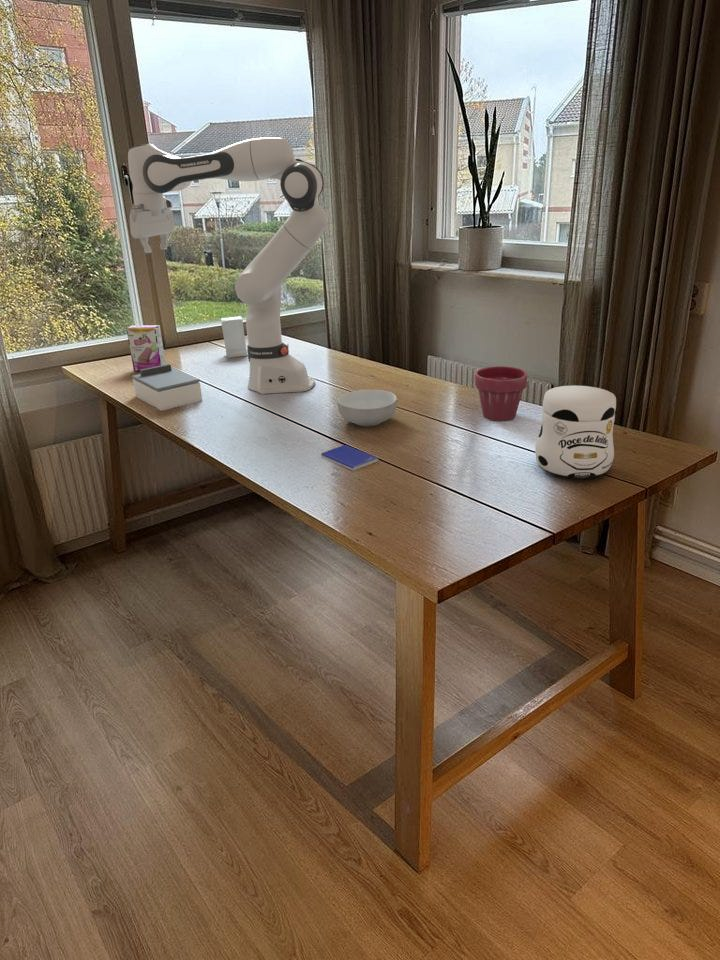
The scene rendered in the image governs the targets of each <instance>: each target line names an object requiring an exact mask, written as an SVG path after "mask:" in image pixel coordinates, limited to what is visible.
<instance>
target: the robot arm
mask: <svg viewBox="0 0 720 960" xmlns="http://www.w3.org/2000/svg"><path fill="white" fill-rule="evenodd" d="M127 153H128V154H127V160H128V161H127V164H128V171H129V178H130V182H131V184H132V198H133V205H132V208H131V210H130V213H129V226H130V235H131V236H132V238H133V239H139V241H140V243H141V245H142V247H143V250H144V254H150V253H152V252H153V250H152V246H150V244H149V240H150V239H149V238H151V237H156V236H159V237H160V243H159V248H160V250H167V249H168V240H169V234H173V233H174V231H175V220H174V213H173V210H172V209H173V202H172V201H171V200H170V199H168V198H167V197H165V196H164V194H166V193H169V192H178V191H182V190H185V189H187V187H189V185H190V184H191V182H195V181H200V180H201V181H202V180H208V179H210V180H211V179H217V180H218V179H219V180H228V181H233V182H234V181H235V182H259V181H263V180H269V179H270V180H271V179H273V180H275V179H276V180H278V181H279V182H280V185H279V186H280V190H281V192H282V195H283V196H284V198H285V199H286V201H287V203H288V204H289V206H290V208H291V209H292V211H291V213H290V214H289V216H288V217H287V219H286V220H285V221H284V223H283V224H282V225H281V226H280V227H279V228H278V230H277V231H276V233H275V234H274V235H273V236H272V238H271V239H270V240H269V241H268V242H267V244H265V246H264V247H263V248H262V249H261V250H260V251H259V252H258V254H257V255H256V256H255V257H253V259H252V260H251V261H250V262H249V264H248V265H247V266H246V267H245V268H244V269H243V270H242V272H241V273H240V274H239V275H238V277H237V279H236V281H235V287H234V289H235V290H234V291H235V293H236V296H237V298H238V299H239V300H240V301H241V302H242V303H244V304H247V312H246V318H245V326H246V334H247V344H246V350H247V360H248V362H249V375H248V376H249V377H248V381H247V382H248V383H247V388H248V389H249V390H252V391H254V392H257V393H258V394H261V395H262V394H263V395H265V394H283V393H284V394H285V393H296V392H306V391H309V390H311V389H312V388H313V387H314V386H315V384H316V381H315V378H313V376H308V370H307V367H306V365H305V364H304V363H303V362H301V361H300V360H298V359H297V358H295V357H294V356H293V355H291V354H290V353H289V352H290V351H289V350H290V349H289V343H288V344H285V343H284V342H282V341H283V340H282V326H281V325H282V324H281V307H282V305H281V304H282V284H283V282H284V281H285V280H286V279H287V278H288V277H289V276H290V274H292V273H293V271H295V270H296V269H297V267H298V266H299V265H300V264H301V262H302V261H303V260H304V259H305V257H306V256H308V254H309V253H310V251H311V250H312V249H313V247H314V246H316V243H317V242H318V241H319V240H320V238H321V236H322V235H323V234H324V231H325V230H326V227H327V226H328V222H329V218H328V214H327V212H326V210H325V208H324V207H322V206H321V205H320V203H319V199H318V198H319V197H320V195H321V194H322V193H323V189H324V185H325V183H324V177H323V174H322V172H321V171H320V170H319V168H318V167H316V166H315V165H313V164H311V163H309V162H307V161H304V160H302V159H300V158H295V154H294V150H293V148H292V146H291V144H290V143H289V141H288V140H287V139H285V138H284V137H256V138H250V139H245V140H242V141H239V142H236V143H233V144H231V145H227V146H226V147H222V148H221V149H218V150H215V151H212V152H209V153H205V154H200V155H193V156H186V157H179V156H176V155H173V154H171V153H167V152H166V151H163V150H161V149H159V148H157V146H155V145H154V144H151V143H144V144H143V143H142V144H137V145H133V146H132V147H131V148H129V150H128V152H127Z"/></svg>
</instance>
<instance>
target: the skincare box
mask: <svg viewBox="0 0 720 960" xmlns="http://www.w3.org/2000/svg"><path fill="white" fill-rule="evenodd" d="M220 320H221V321H220V322H221V329H222V336H223V341H224V348H225V354H226V357H227V359H230V358H237V357H238V358H239V357H240V358H241V357H248V354H247V344H246V338H245V337H246V336H245V329H244V321H243V317H242V316H241V315H239V316H237V315H236V316H232V317H230V316H229V317H221V318H220Z"/></svg>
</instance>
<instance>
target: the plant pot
mask: <svg viewBox="0 0 720 960" xmlns="http://www.w3.org/2000/svg"><path fill="white" fill-rule="evenodd" d="M474 386H475V388H476V389H478V395H479V396H478V397H479V401H480V406H481V407H480V408H481V411H482V416H483V418H484V419H487V420H489V421H493V422H506V421H511V420H513V419H515V418H516V415H517V411H518V408H519V406H520V402H521V398H522V394H523V391H524V389H526V388H527V386H528V373H527V371H526V370H525V369H521V368H518V367H514V366H506V365H505V366H503V365H500V366H499V365H498V366H497V365H495V366H489V367H483V368H480V369H478V370H476V371H475V374H474Z"/></svg>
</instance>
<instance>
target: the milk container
mask: <svg viewBox="0 0 720 960" xmlns="http://www.w3.org/2000/svg"><path fill="white" fill-rule="evenodd" d="M616 409H617V398H616V395H615V394H614V393H613V392H610V391H608V390H607V389H603V388H599V387H595V386H588V385H576V384H575V385H574V384H573V385H560V386H557V387H553V388H552V387H551V388H550V389H547V390H546V392H545V393H544V397H543V401H542V411H541V412H542V413H541V427H540V430H539V431H540V432H539V435H538V436H537V439H536V443H535V447H534V448H535V449H534V450H535V451H534V453H535V454H534V455H535V459H536V460H535V461H536V463H537V465H538V467H540V469H542V470H543V471H544V472H546V473H548V474H551V475H553V476H556V477H561V478H565V479H572V480H573V479H574V480H583V479H585V480H586V479H592V478H596V477H600V476H601V475H604V474H605V473H607V472H608V471H609V470H610V468H611V466H612V464H613V460H614V457H615V445H614V438H613V433H614V432H613V431H614V423H615V418H616V413H615V412H616Z"/></svg>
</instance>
